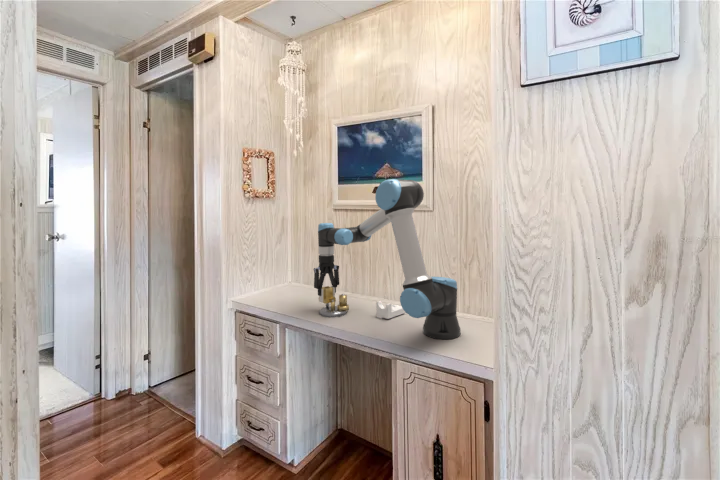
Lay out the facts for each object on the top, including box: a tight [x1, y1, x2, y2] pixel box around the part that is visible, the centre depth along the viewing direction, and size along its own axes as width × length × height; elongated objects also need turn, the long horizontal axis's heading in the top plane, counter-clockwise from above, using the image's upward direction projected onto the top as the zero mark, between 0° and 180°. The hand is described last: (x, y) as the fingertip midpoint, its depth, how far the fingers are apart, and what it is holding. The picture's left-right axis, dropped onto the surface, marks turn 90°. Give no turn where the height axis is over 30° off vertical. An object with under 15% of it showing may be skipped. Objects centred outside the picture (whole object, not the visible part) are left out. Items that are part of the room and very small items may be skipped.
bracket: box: [375, 300, 407, 320], centre depth 176 cm, size 13×7×8 cm, turn 134°
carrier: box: [319, 293, 350, 318], centre depth 180 cm, size 13×14×9 cm
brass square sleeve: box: [322, 285, 337, 305], centre depth 183 cm, size 6×6×7 cm
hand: (327, 300), depth 184 cm, fingers closed on brass square sleeve, 6 cm apart
